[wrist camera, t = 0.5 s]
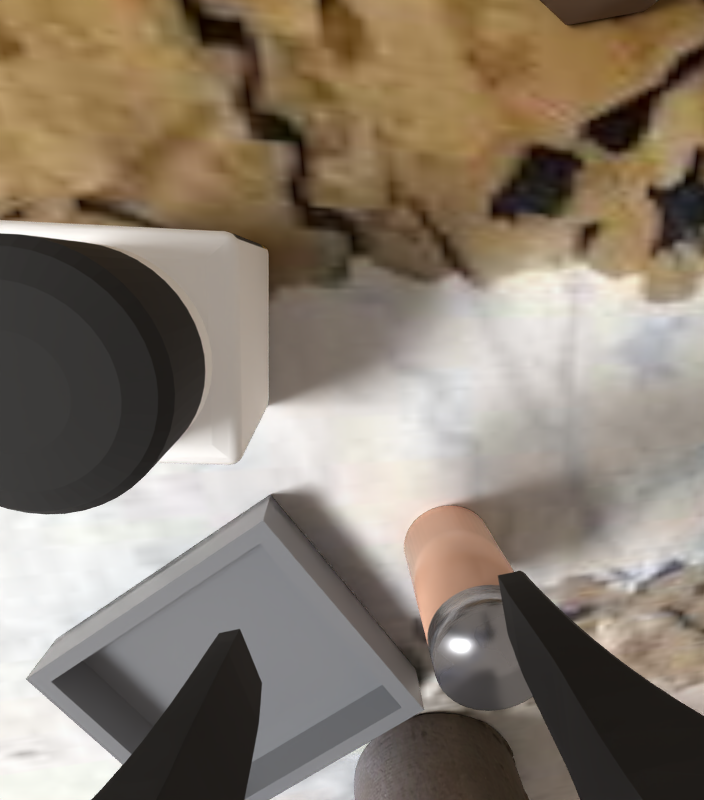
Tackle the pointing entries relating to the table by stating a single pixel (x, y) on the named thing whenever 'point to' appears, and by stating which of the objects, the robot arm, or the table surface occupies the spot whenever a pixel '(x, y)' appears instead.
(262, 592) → the tray
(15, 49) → the table surface
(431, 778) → the pillar candle
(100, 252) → the medicine bottle
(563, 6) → the beer bottle
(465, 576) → the salt shaker
